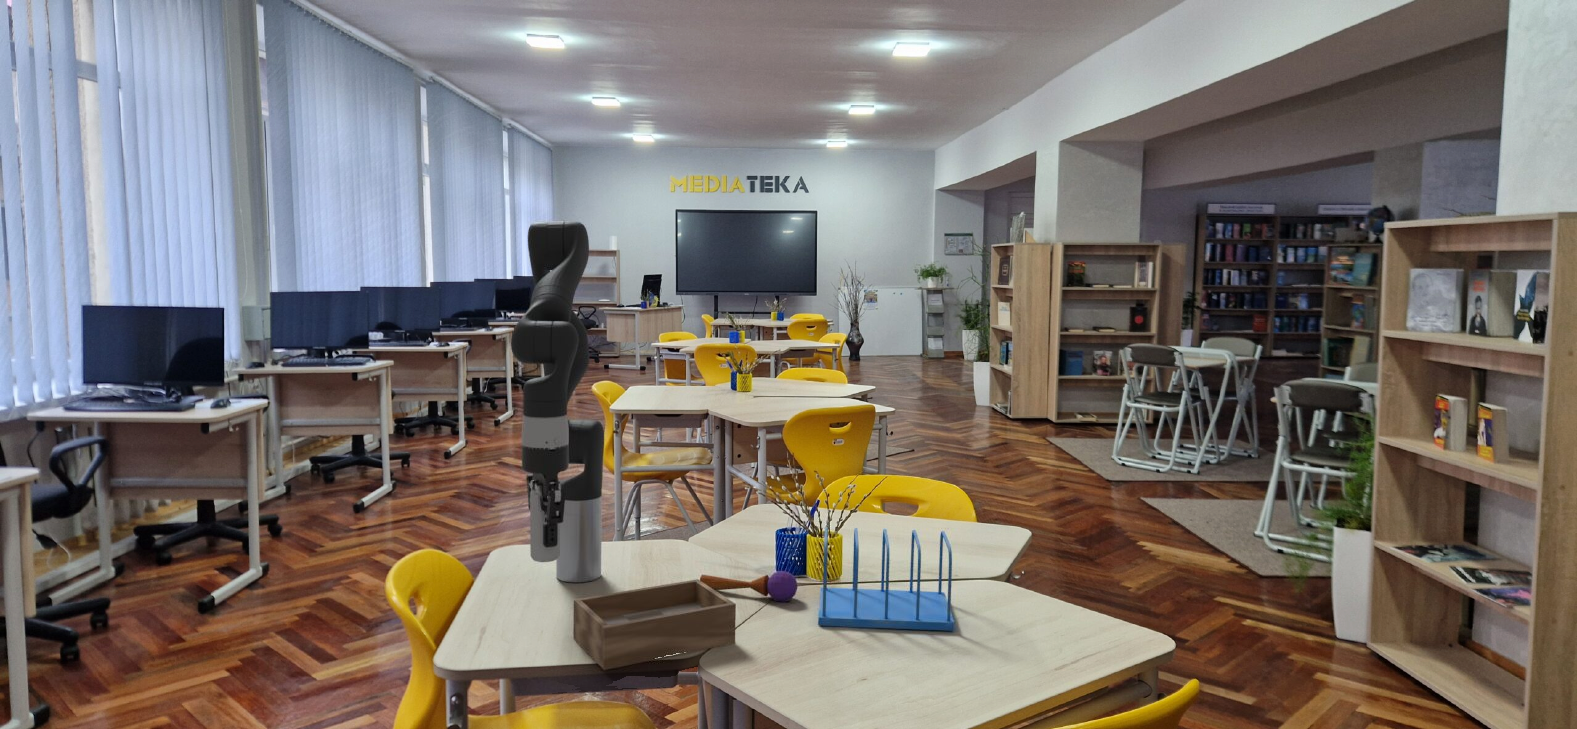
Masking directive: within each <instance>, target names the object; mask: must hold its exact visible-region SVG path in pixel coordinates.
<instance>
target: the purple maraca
mask: <svg viewBox="0 0 1577 729" xmlns="http://www.w3.org/2000/svg"><path fill="white" fill-rule="evenodd" d="M699 580H700V581H701V582H703V583H704V584H706V585H707V586H709V587H710V588H712V589H714V590H715V591H723V590H724V591H725V590H737V589H738V590H739V589H740V590H741V589H751V590H753V591H755V592H757V593H759V594H760V595H762V596H764V597H768V596H770V598H771V599H772V600H775V601H776V602H782V603H783V602H788V601H791V600H792V599H793V597H795V596H796V594H797V591H798V583H797V579H796V578H795V576H794V574H792V573H790V572H788V571H785V570H778V571H775V572H774V573H772V575H770V576H769V575H768V574H766V575H763V576H761V577H759V578H756V579H754V580H752V581H746V580H740V579H739V580H737V579H732V578H726V577H719V576H713V575H707V574H701V576H700V578H699Z"/></svg>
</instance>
